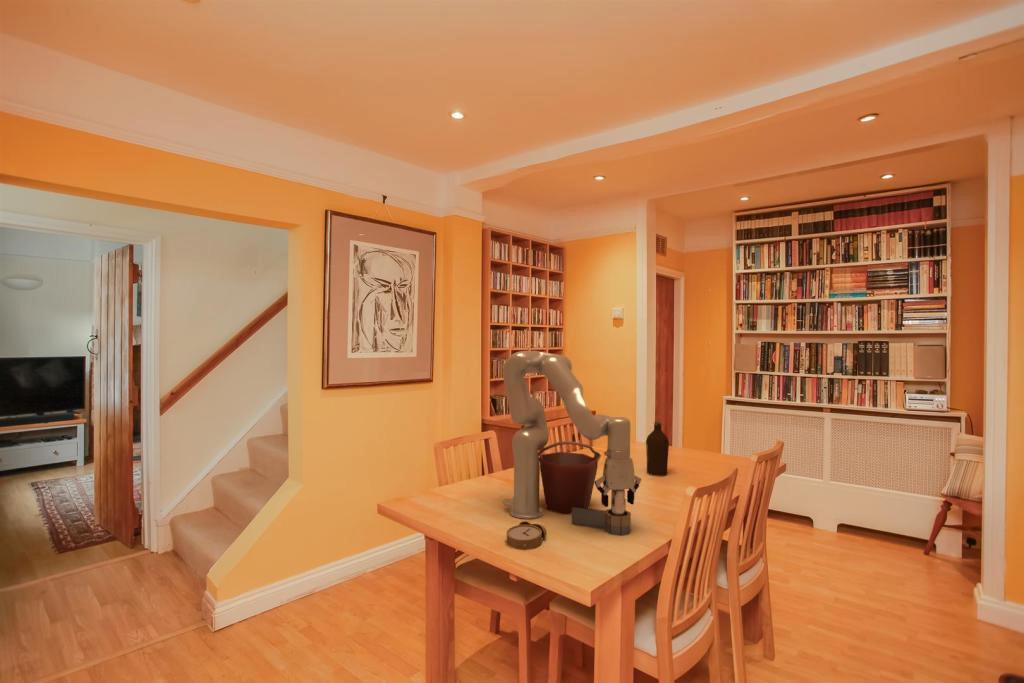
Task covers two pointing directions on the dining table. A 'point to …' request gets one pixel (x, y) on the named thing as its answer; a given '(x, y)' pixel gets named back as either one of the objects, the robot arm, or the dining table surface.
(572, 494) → the bucket
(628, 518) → the hinge
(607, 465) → the robot arm
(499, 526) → the dining table surface
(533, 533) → the alarm clock
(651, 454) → the olive oil
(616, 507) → the hinge pin
